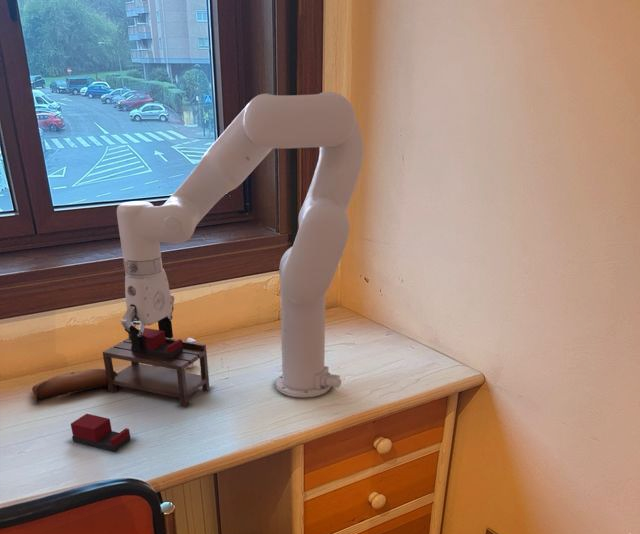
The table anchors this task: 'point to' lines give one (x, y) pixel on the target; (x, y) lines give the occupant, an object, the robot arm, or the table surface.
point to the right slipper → (160, 344)
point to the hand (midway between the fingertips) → (153, 344)
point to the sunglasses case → (70, 383)
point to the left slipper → (98, 433)
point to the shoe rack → (158, 370)
